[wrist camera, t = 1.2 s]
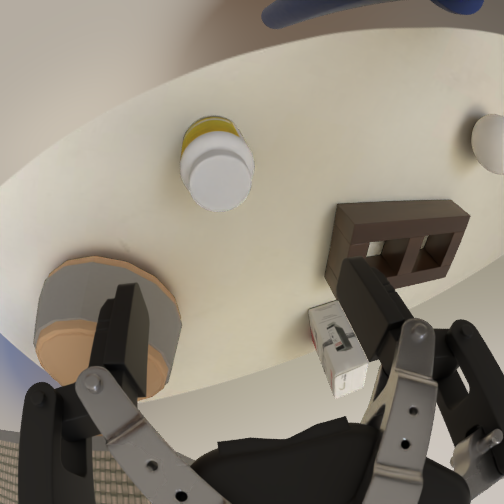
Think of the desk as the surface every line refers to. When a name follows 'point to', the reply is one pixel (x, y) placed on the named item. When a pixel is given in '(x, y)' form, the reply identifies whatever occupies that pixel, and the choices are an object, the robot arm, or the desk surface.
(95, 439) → the desk lamp
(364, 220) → the dock
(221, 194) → the supplement bottle
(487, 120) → the ball
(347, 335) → the ink box
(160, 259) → the desk surface
